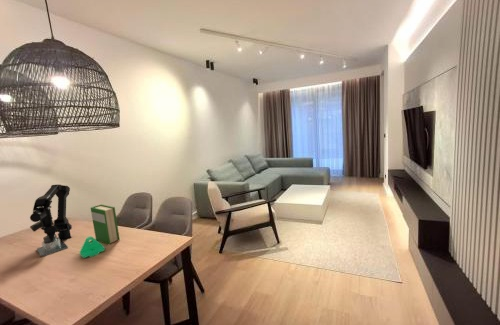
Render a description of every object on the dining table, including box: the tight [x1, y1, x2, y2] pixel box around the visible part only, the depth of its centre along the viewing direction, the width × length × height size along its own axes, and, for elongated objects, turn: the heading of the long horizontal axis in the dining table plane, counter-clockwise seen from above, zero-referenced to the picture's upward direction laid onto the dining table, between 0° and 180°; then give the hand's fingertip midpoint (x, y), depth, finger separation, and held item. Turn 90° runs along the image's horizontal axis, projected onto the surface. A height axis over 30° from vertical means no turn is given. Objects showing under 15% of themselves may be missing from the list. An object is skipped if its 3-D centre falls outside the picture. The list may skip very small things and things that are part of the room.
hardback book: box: [90, 204, 120, 245], centre depth 171 cm, size 18×7×24 cm, turn 57°
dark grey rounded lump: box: [43, 233, 58, 243], centre depth 164 cm, size 7×7×6 cm
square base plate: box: [36, 237, 69, 258], centre depth 164 cm, size 14×16×6 cm
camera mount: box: [79, 236, 106, 258], centre depth 153 cm, size 12×8×10 cm, turn 135°
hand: (50, 238), depth 163 cm, fingers open, 8 cm apart
